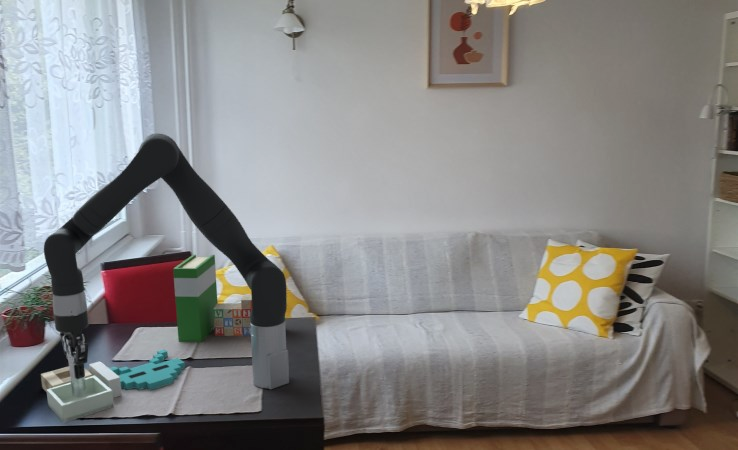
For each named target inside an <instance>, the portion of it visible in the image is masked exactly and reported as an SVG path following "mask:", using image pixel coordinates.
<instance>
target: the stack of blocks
mask: <svg viewBox="0 0 738 450" xmlns="http://www.w3.org/2000/svg"><path fill="white" fill-rule="evenodd" d="M251 311H252V295H251V294H250V293H247V294H243V295H242V297H241V300H240V303H239V302H234V303H233V302H228V303H226V302H224V303H223V302H220V303H217V305H216V306H215V308H214V309H213V312H214V336H219V337H221V336H224V337H225V336H226V337H229V336H234V337H235V336H236V337H238V336H239V337H240V336H241V337H243V336H244V337H245V336H251V326H250V312H251Z"/></svg>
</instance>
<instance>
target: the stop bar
mask: <svg viewBox="0 0 738 450" xmlns="http://www.w3.org/2000/svg"><path fill="white" fill-rule="evenodd" d="M88 367H89V372H90V373H91V374H92V376H96V377H97V378H98V379H99V380H101V381H102V382H103V383H104V384H105V385H106V386H108V387H109V388H110V389H111V390H112V394H113V399H114V398H117V397H120V396H122V394H123V393H122V388H121V382H120V377H119V376H118V375H117V374H115V373H114V372H113V371H112V370H110V369H109V368H110V367H108V366H107V365H105V364H104V363H103V362H101V361H95V362H93V363H89V365H88Z"/></svg>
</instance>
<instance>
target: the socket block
mask: <svg viewBox="0 0 738 450" xmlns="http://www.w3.org/2000/svg"><path fill="white" fill-rule="evenodd" d="M84 371H85V378H88V377H91V376H92V374H91V373H90V370H88V369H86V368H85V367H84ZM40 378H41V379H40V381H41V388H42V389H43V390H44V391H45V392H46V393H47V389H50V388H53V387H57V386H60V385H64V384H67V383H71V379H70V370H69V365H68V366H65V367H61V368H58V369H55V370H51V371H47V372H43V373H40Z"/></svg>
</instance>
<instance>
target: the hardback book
mask: <svg viewBox="0 0 738 450" xmlns="http://www.w3.org/2000/svg"><path fill="white" fill-rule="evenodd" d="M215 258H216V256H215V254H211V255H210V256H209V257H208V256H197V255H196V254H192V255H191V256H189V257H188V258H186V259H185V260H183V261H182V262H180V264H178V265H176V266H175V267H174V268H173V270H172V271H173V272H172V273H173V283H174V284H173V285H174V297H175V299H174V300H175V311H176V324H177V327H176V328H177V337H178V338H177V339H178V342H179V343H180V342H183V343H184V342H186V343H202V342H204V340H205V339H206V337H208V335H210V334H211V332H212V331H213V330H215V327H214V312H213V309H214V308H215V306H216V305H217V303H218V302H219V301H218V292H217V291H218V290H217V289H218V286H217V274H216V272H217V271H216V259H215Z"/></svg>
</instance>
